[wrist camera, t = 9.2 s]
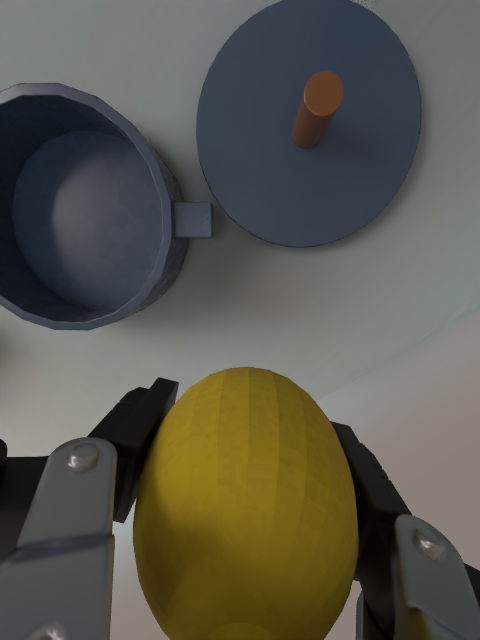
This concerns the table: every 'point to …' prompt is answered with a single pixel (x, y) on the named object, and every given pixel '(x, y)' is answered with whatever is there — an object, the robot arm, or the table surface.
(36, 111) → the pan
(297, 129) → the pan lid
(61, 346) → the table surface
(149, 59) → the table surface
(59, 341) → the table surface
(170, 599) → the lemon
